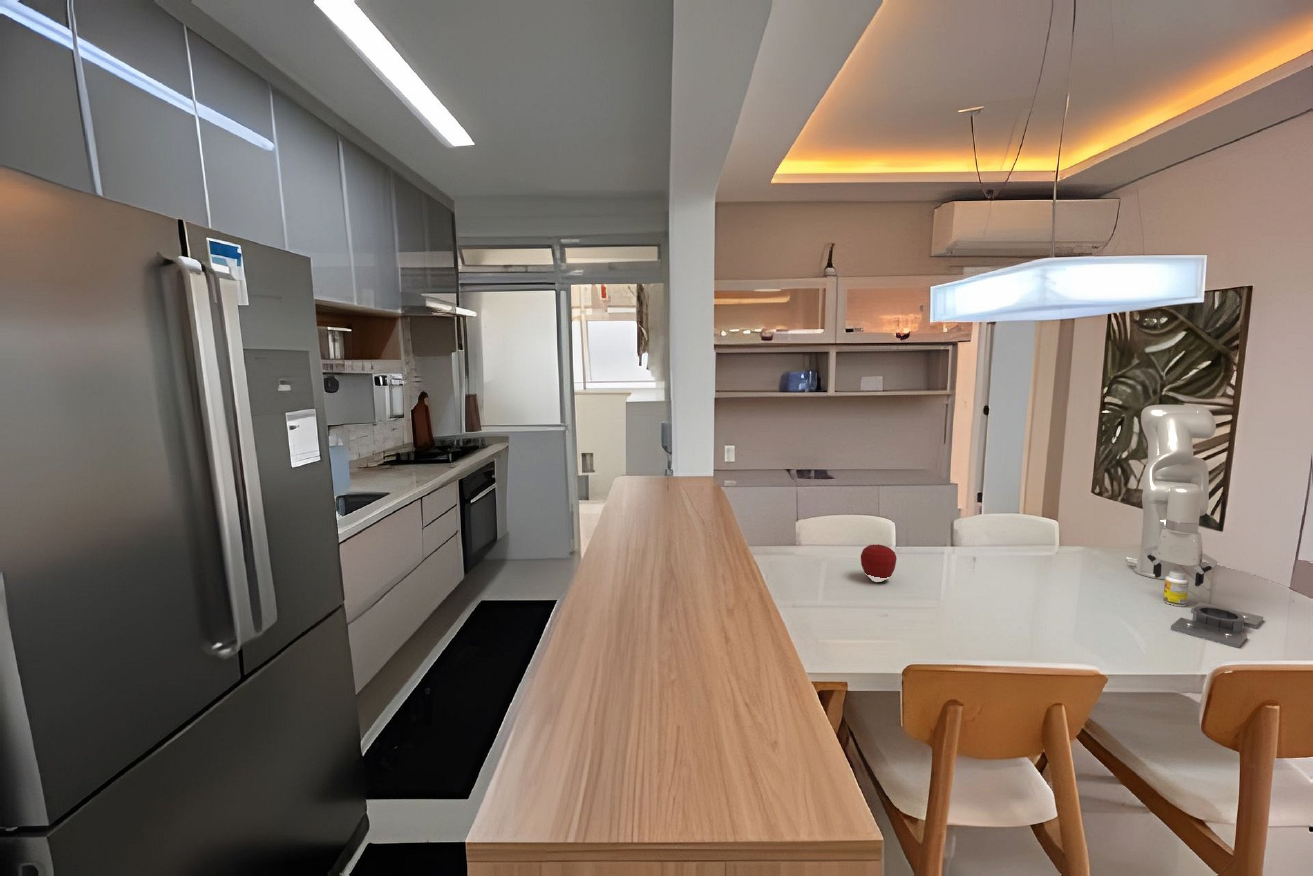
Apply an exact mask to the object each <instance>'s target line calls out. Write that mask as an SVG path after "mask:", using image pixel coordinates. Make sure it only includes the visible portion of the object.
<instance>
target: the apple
mask: <svg viewBox="0 0 1313 876" xmlns="http://www.w3.org/2000/svg"><path fill="white" fill-rule="evenodd" d="M897 559H898V558H897V556H896V553H895V550H893V549H892V548H890V547H889V546H887V545H882V544H879V543H878V544H869V545H867V546H866V547H864V548H863V549H862V551H861V554H860V564H861V567H862V570H863V572H865V573H866V574H867V575H871V576H874V577H880V578H887V577H890V576H891V577H892V575H893V573H894V572H895V569H896V565H897ZM865 573H864V574H865ZM891 577H890V578H891Z"/></svg>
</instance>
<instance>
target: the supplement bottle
mask: <svg viewBox="0 0 1313 876" xmlns="http://www.w3.org/2000/svg"><path fill="white" fill-rule="evenodd" d="M1189 582H1190V581H1189V580H1188V579H1187V573H1186V572H1185V571H1181V570H1176V569H1174V570H1170V571H1169V576H1166V577H1165V579H1164V586H1163V587H1164V588H1163V602H1164V603H1165V602H1166V603H1165V604H1167V605H1169V604H1171V605H1170V606H1173V605H1174V606H1173V607H1180V608H1181V607H1186V606H1187V603H1188V593H1189V584H1190V583H1189Z"/></svg>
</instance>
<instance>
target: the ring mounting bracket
mask: <svg viewBox="0 0 1313 876" xmlns="http://www.w3.org/2000/svg"><path fill="white" fill-rule="evenodd" d="M1190 613H1191V614H1192V619H1187V618H1183V617H1179V618H1178V619H1177V620H1176V621H1174V622H1173V623H1172V624H1171V625H1170V630H1171V629H1172V630H1171V631H1173V630H1174V631H1175V632H1177V631H1179V632H1178V633H1181V632H1182V633H1181V634H1184V633H1185V635H1188V634H1190V635H1189V636H1192V635H1193V636H1192V637H1196V636H1197V637H1196V638H1199V637H1200V638H1199V639H1203V638H1205V639H1204V640H1207V639H1208V640H1207V641H1210V640H1213V641H1212V642H1214V641H1215V643H1218V642H1220V643H1219V644H1221V643H1222V644H1223V645H1225V646H1229V647H1233V648H1237V649H1240V647H1241V646H1242V645H1243V644H1244V643H1245V642H1246V640H1247V639H1248V634H1247V633H1243V631H1244V629H1245V627H1246V628H1250V629H1254V630H1256V629H1257V628H1258V627H1259V626H1260V625H1261V624H1262V623H1263V622H1264V616H1261V615H1257V614H1253V613H1250V612H1244V611H1240V610H1236V609H1233V608H1232V609H1231V608H1227V607H1225V606H1224V607H1223V606H1219V605H1214V604H1211V603H1206V602H1202V601H1199V602H1198V603H1196V605H1194V606H1193V607H1192V608H1191V609H1190ZM1192 620H1193V621H1192ZM1241 632H1242V633H1241ZM1222 644H1221V645H1222Z"/></svg>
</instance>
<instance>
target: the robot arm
mask: <svg viewBox="0 0 1313 876" xmlns="http://www.w3.org/2000/svg"><path fill="white" fill-rule="evenodd" d="M1140 415H1141V416H1140V424H1141V428H1142V431H1143V433H1144V435H1145V438H1146V441H1147V465H1146V466H1145V469H1144V472H1143V476H1142V483H1143V485H1142V487H1143V488H1142V489H1143V490H1142V495H1141V502H1142V512H1143V513H1142V514H1143V515H1142V517H1143V518H1142V533H1141V543H1140V544H1141V545H1140V554H1139V555H1140V556H1139V557H1131V556H1127V555H1126V556H1125V559H1124V560H1125V563H1127V564H1131V565H1135V566H1133V571H1134V572H1135V573H1136V574H1138V575H1141V576H1143V577H1148V578H1150V579H1151V578H1152V579H1157V580H1165V577H1166V576H1169V571H1170V570H1176V569H1175V568H1176V567H1175V565H1179V566H1180V565H1181V566H1187V567H1191V568H1192V567H1193V568H1194V569H1195V570H1196V571H1197V572H1196V573H1195V577H1194V578H1195V579H1194V581H1195V582H1194V586H1195V587H1200V586H1201V585H1203V584H1204V580H1205V579H1204V578H1205V573H1207V572H1209V571H1211V570H1212V569H1213V568H1215V566H1216V565H1217V564H1218V561H1217V560H1216V559H1215V558H1213V557H1211V556H1209V555H1207V554H1206V553H1204V551H1203V550H1204V549H1203V538H1202V534H1201V532H1199V527H1200V526H1199V525H1200V517H1202V516H1204V515H1206V514H1207V513H1208V511H1209V505H1210V504H1209V503H1210V502H1209V499H1210V498H1209V492H1210V491H1209V489H1210V487H1209V486H1210V484H1209V483H1210V482H1209V480H1210V479H1209V478H1210V475H1209V467H1208V463H1207V461H1205V460H1204V459H1203V458H1201V457H1196V456H1194V447H1193V439H1199V440H1200V439H1202V440H1203V439H1205V440H1207V439H1211V438H1212V437H1214V435H1215V433H1216V429H1217V423H1216V420H1215V418H1214V414H1212V412H1211V410H1209V409H1208V408H1207V407H1206V406H1203V405H1197V404H1195V405H1194V404H1154V405H1153V404H1152V405H1148V406H1145V407H1144V408H1143V410H1142V411H1141V414H1140ZM1203 560H1204V561H1206V562H1208V565H1206V566H1205V567H1204V566H1203V564H1202V563H1203Z"/></svg>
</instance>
